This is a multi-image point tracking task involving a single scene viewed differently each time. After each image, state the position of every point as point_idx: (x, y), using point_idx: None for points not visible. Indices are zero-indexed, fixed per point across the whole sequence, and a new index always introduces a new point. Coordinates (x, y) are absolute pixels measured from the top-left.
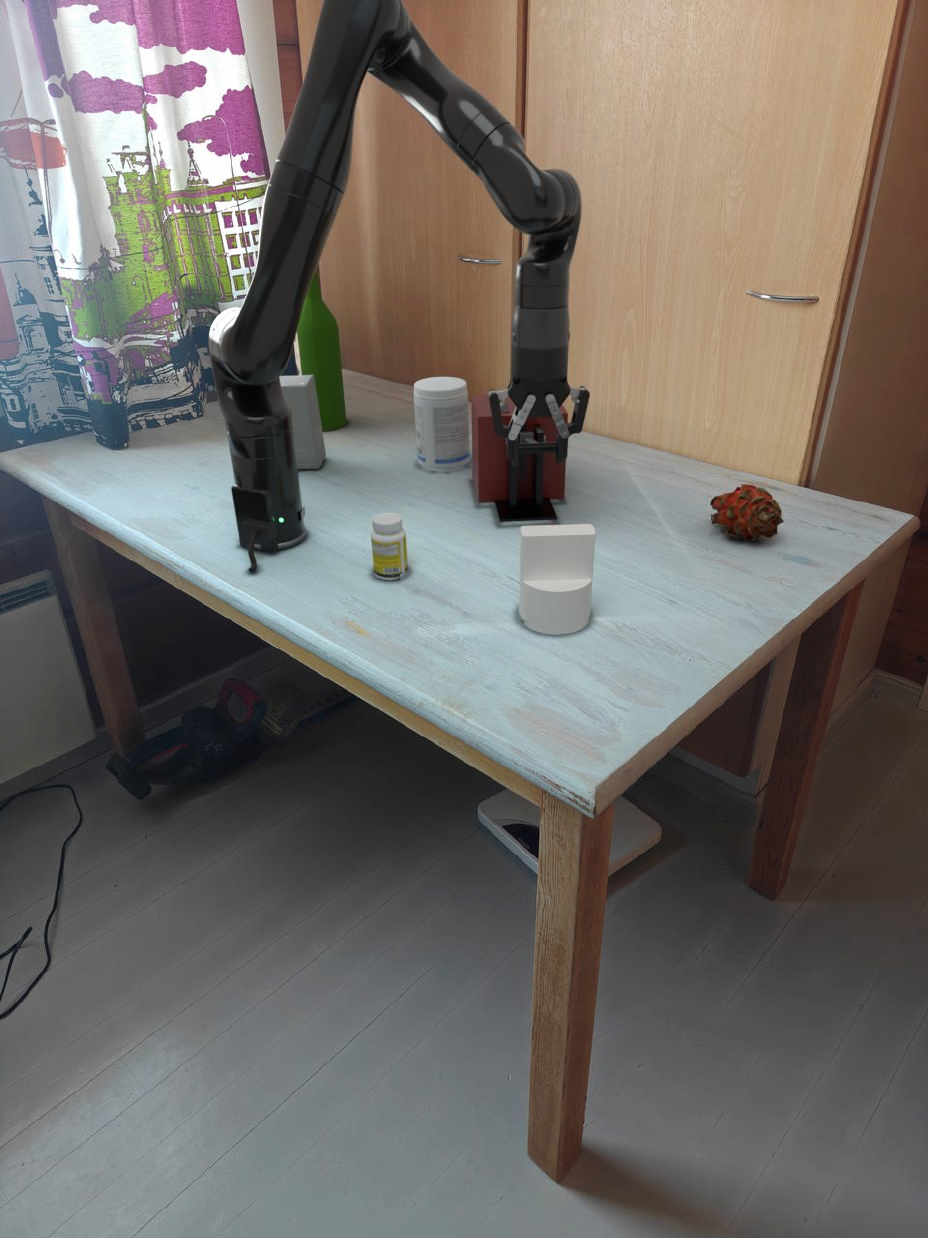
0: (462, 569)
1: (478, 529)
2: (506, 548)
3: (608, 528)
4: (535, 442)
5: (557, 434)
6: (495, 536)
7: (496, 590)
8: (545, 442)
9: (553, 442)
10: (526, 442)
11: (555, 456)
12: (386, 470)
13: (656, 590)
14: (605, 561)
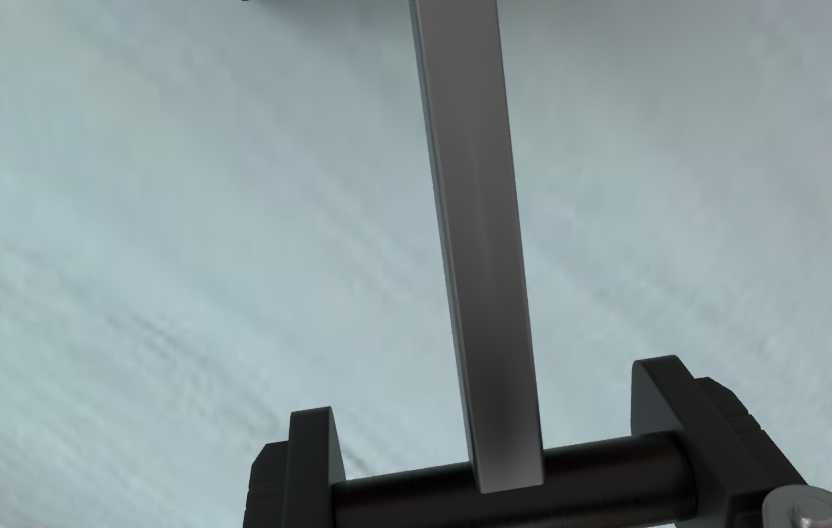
0: (147, 397)
1: (139, 27)
2: (299, 226)
3: (775, 3)
4: (508, 348)
5: (737, 503)
6: (237, 108)
7: None
8: (594, 509)
9: (663, 513)
10: (421, 76)
11: (641, 367)
12: None
13: None
14: (673, 311)
